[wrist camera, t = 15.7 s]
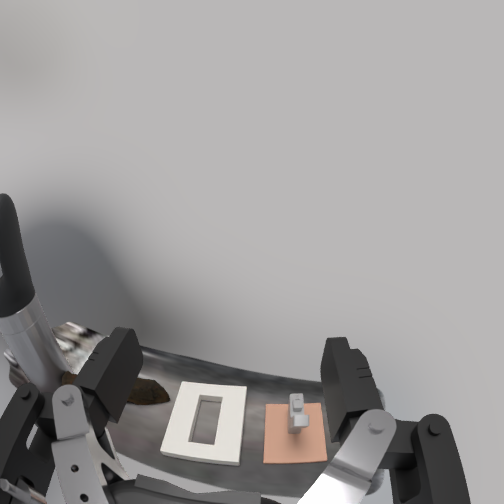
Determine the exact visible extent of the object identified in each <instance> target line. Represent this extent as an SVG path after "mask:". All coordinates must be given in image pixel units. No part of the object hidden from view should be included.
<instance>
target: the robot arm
mask: <svg viewBox="0 0 504 504" xmlns="http://www.w3.org/2000/svg"><path fill="white" fill-rule="evenodd" d="M0 263H1V268H2V273H3V275H2V277H1V278H0V332H1V334H2V336H3V338H4V339H5V341H6V343H7V345H8V347H9V349H10V350H11V352H12V354H13V355H14V357H15V359H16V360H17V362H18V364H19V365H20V367H21V368H22V370H23V372H24V373H25V375H26V376H27V378H28V379H29V381H30V382H31V383H25V384H23V385H21V386H20V387H19V388H18V389H17V390H16V392H15V394H14V395H13V397H12V399H11V401H10V402H9V404H8V406H7V408H6V410H5V411H4V413H3V415H2V417H1V419H0V504H47V502H46V499H45V496H46V493H47V490H48V487H49V484H50V481H51V477H52V474H53V472H54V469H55V466H56V470H57V474H58V478H59V482H60V486H61V489H62V493H63V495H64V499H65V502H66V504H281V503H278V502H276V501H274V500H271V499H267V498H263V497H261V492H241V491H221V492H211V493H198V494H197V493H192V492H190V491H187V490H185V489H182V488H180V487H178V486H175V485H173V484H171V483H169V482H166V481H163V480H159V479H154V478H151V477H147V476H143V475H140V474H138V475H137V478H136V479H133V480H130V478H129V476H128V474H127V473H126V471H125V470H124V468H123V467H122V465H121V463H120V461H119V459H118V457H117V454H116V451H115V449H114V446H113V443H112V440H111V437H110V435H109V432H108V429H107V427H106V425H107V422H108V421H110V422H114V423H118V421H119V418H120V416H121V414H122V411H123V409H124V407H125V404H126V402H127V400H128V397H129V395H130V393H131V390H132V388H133V386H134V383H135V381H136V379H137V377H138V375H139V372H140V370H141V368H142V365H143V354H142V351H141V348H140V345H139V342H138V339H137V336H136V334H135V331H134V330H133V329H130V328H122V327H116V328H115V329H114V331H113V332H112V333H111V335H110V337H105V338H104V339H103V340H102V341H100V342H99V343H98V344H97V345H96V347H95V348H94V350H93V353H91V355H90V356H89V358H88V360H87V361H86V362H85V364H84V366H83V367H82V369H81V370H80V372H79V374H78V375H77V377H76V379H75V380H74V382H73V383H72V385H64V386H62V376H63V375H64V374H65V372H66V371H70V372H71V373H72V374H73V371H72V369H71V367H70V365H69V364H68V362H67V360H66V358H65V356H64V354H63V352H62V350H61V348H60V346H59V344H58V342H57V340H56V338H55V336H54V334H53V332H52V330H51V328H50V326H49V324H48V321H47V319H46V317H45V314H44V312H43V310H42V307H41V305H40V303H39V300H38V297H37V295H36V292H35V290H34V287H33V284H32V281H31V276H30V271H29V267H28V264H27V260H26V256H25V253H24V248H23V244H22V239H21V233H20V228H19V222H18V217H17V213H16V210H15V207H14V203H13V201H12V200H11V198H10V197H9V196H8V195H7V194H0ZM321 381H322V386H323V392H324V398H325V405H326V411H327V417H328V424H329V431H330V438H331V443H332V442H340V450H339V451H338V453H337V454H336V456H335V457H334V458H333V460H332V461H331V463H330V464H329V465H328V466H327V468H326V469H325V470H324V472H323V473H322V474H321V476H320V477H319V478H318V480H317V481H316V482H315V483H314V485H313V486H312V487H311V488H310V489H309V491H308V492H307V493H306V494H305V495H304V497H303V498H302V499H301V500H300V501H299V502H298V503H297V504H359V503H360V501H361V500H362V498H363V497H364V495H365V494H366V492H367V490H368V489H369V487H370V485H371V482H372V481H371V478H372V476H373V474H374V473H375V471H376V469H377V468H379V469H389V472H390V480H391V486H392V495H393V503H394V504H471V503H470V497H469V493H468V488H467V483H466V479H465V475H464V471H463V467H462V464H461V460H460V456H459V453H458V450H457V447H456V443H455V440H454V437H453V434H452V431H451V428H450V425H449V423H448V421H447V420H446V419H445V418H444V417H443V416H441V415H438V414H429V415H426V416H424V417H423V418H422V419H421V420H420V421H419V422H411V421H401V420H397V419H394V417H393V416H392V415H391V414H390V413H388V412H386V411H385V410H384V408H383V406H382V403H381V400H380V397H379V394H378V391H377V388H376V385H375V382H374V379H373V378H372V373H371V370H370V369H369V364H368V362H367V359H366V357H365V356H364V355H363V354H362V352H361V351H360V350H359V349H350V347H349V344H348V341H347V338H346V337H336V338H327V340H326V344H325V348H324V353H323V357H322V362H321ZM34 424H35V425H36V426H37V427H38V429H37V432H36V434H35V436H34V438H33V440H32V443H31V445H30V447H29V449H27V447H26V441H27V438H28V436H29V434H30V431H31V430H32V427H33V425H34Z"/></svg>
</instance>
